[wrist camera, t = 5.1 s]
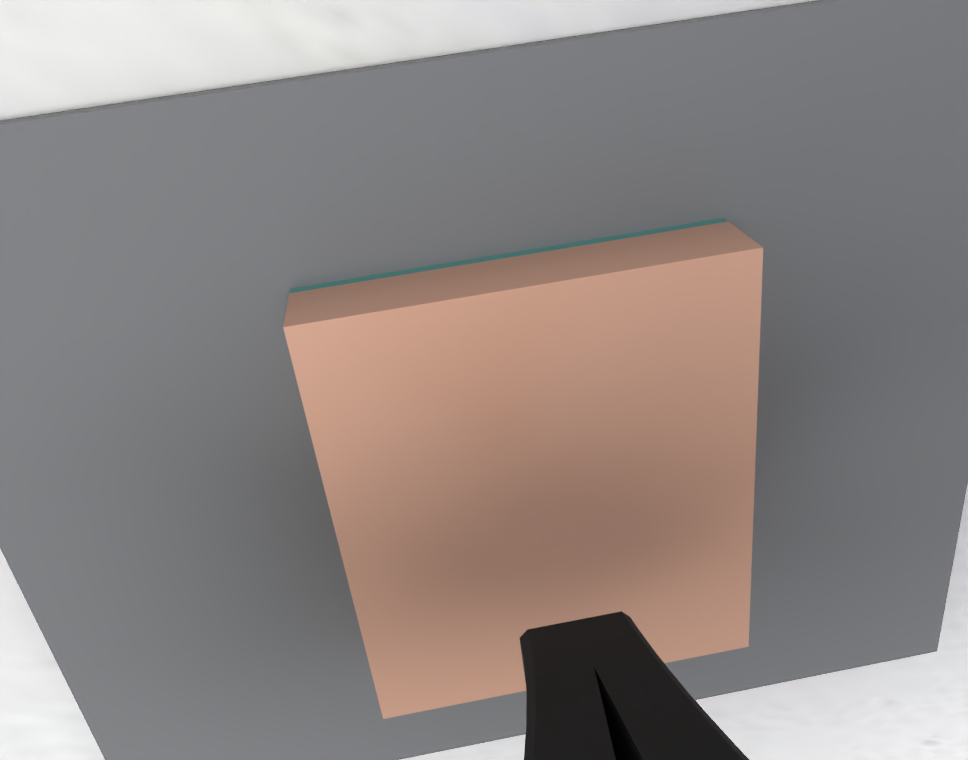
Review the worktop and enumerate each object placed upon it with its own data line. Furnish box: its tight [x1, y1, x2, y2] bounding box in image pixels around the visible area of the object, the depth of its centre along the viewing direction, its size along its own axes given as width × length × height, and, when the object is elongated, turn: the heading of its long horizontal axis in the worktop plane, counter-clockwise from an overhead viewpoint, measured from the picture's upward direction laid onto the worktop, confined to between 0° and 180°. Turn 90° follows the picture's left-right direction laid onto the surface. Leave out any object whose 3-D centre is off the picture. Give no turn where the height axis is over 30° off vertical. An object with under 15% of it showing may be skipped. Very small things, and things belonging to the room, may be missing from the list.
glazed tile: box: [283, 218, 763, 719], centre depth 15 cm, size 2×8×7 cm
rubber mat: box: [0, 0, 968, 760], centre depth 16 cm, size 18×14×1 cm
